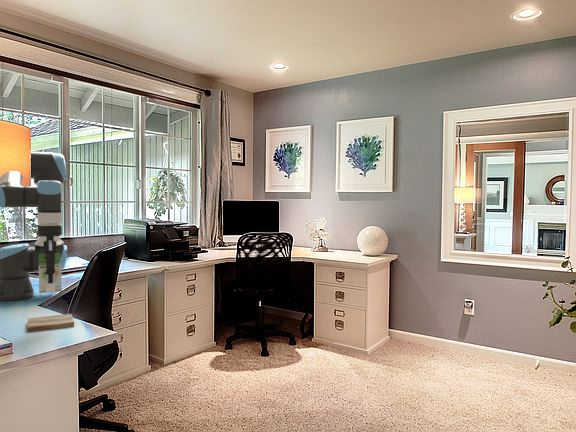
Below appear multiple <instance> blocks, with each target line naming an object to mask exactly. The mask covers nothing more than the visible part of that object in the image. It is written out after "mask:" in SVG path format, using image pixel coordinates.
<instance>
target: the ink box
mask: <svg viewBox="0 0 576 432" xmlns="http://www.w3.org/2000/svg"><path fill="white" fill-rule="evenodd" d="M44 257H46V254H45V253H44V254H39V272H38V292H39V294H47V293H46V274H44V273H45V272H46V259H44ZM55 257H56V258H55V292H54V293H56V292H57V293H58V292H62V289H63V285H62V284H63V283H62V282H63V281H62V280H63V279H62V270H61V263H60V253H55Z"/></svg>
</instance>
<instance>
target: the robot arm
mask: <svg viewBox="0 0 576 432" xmlns="http://www.w3.org/2000/svg"><path fill="white" fill-rule="evenodd" d="M30 152H31V180H32V179H33V184H34V185H36V186H24V185H23V180H24V178H23V176H22V174H21V173H20V172H18V171H9V172H7V173H5V174H3V175H2V176H1V178H0V208H37V215H35V216H34V217H35V219H37V225H38V226H36V227H37V237H38V238H37V240H36V241H35V242H34V246H31V245H30V243H18V244H12V245H8V246H3V247H1V248H0V301H1V302H7V301H8V302H10V301H20V300H25V299H29V298H33V297H35V290H34V287H33V284H32V282H31V279H30V274H32V273H39V254H44V253H45V254H46V257H44V259H46V272H45V273H44V274H46V293H45V294H49V293H51V294H52V293H56V292H55V258H56V257H55V253H60V263H61V271H62V270H64V268H65V266H66V262H67V255H68V245H66V244H64V243H65V242H64V240H63V239H61V236H62V235H63V226H62V224H63V212H62V211H63V210H62V205H63V202H62V201H63V198H62V197H63V196H62V193H63V188H62V186H63V185H64V181H67V180H68V174H67V173H68V172H67V167H66V160H65V155H63V154H61V153H59V152H58V153H57V152H56V153H55V152H44V151H43V152H42V151H41V152H40V151H30Z"/></svg>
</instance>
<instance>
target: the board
mask: <svg viewBox="0 0 576 432" xmlns="http://www.w3.org/2000/svg"><path fill="white" fill-rule="evenodd" d="M74 326H75V321H74V317H73V315H72V313H67V314H65V313H64V314H58V315H56V314H55V315H49V316H41V317H40V316H39V317H31V318H27V326H26V327H27V328H26V329H27V330H26V332H27V333H28V332H37V331H46V330H53V329H54V330H55V329H62V328H71V327H74Z"/></svg>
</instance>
